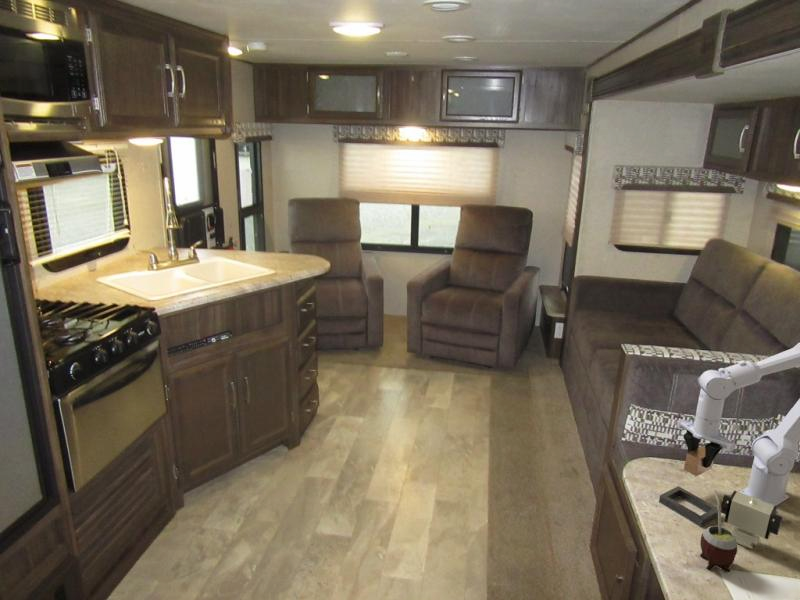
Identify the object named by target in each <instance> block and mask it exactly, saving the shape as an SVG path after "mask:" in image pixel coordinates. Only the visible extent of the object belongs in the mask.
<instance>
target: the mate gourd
mask: <svg viewBox="0 0 800 600" xmlns="http://www.w3.org/2000/svg"><path fill="white" fill-rule="evenodd" d="M713 493H714V496H715V499H716V503H717V506H716V507H717V510H718V517H717V519H718V520H717V525H713V526H712V525H711V526H708V527H707V528H706V529H704V530H703V531H702V534H701V535H700V536H701V537H700V543H699V544H700V550H701V553H700V554H699V555H700V558H702V559H704V560H705V561H707V564H708V565H707V566H706V567H705V569H706V570H707V571H711V570H713V568H715V567H717V568H719V569H720V568H721V570H722V571H724V572H726V573H727V572H729V573H730V571H731V569H730V567H731V566H732V564H733V563H734V561H735V559H736V555H737V553H738V543H737V541H736V538H735V537H734V535H733V534H732V531H730V530H728V529H726V528H725V527H722V513H721V501H720V497H719V495H718V493H717V490H714V491H713Z"/></svg>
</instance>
